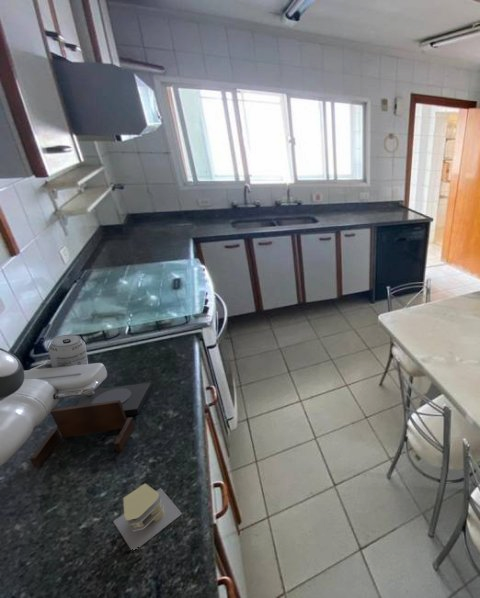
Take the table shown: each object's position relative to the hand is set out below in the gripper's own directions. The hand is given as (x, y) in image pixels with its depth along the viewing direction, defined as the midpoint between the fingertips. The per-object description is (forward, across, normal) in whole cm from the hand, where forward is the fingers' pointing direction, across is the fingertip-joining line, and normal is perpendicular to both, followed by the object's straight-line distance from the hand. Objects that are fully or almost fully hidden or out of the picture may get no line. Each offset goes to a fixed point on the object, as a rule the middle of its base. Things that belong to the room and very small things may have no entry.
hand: (64, 361), depth 78 cm
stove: (+11, 0, +23) cm, 26 cm away
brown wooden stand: (-4, 0, +23) cm, 24 cm away
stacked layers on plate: (-29, -20, +23) cm, 42 cm away
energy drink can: (-1, 0, +9) cm, 9 cm away
